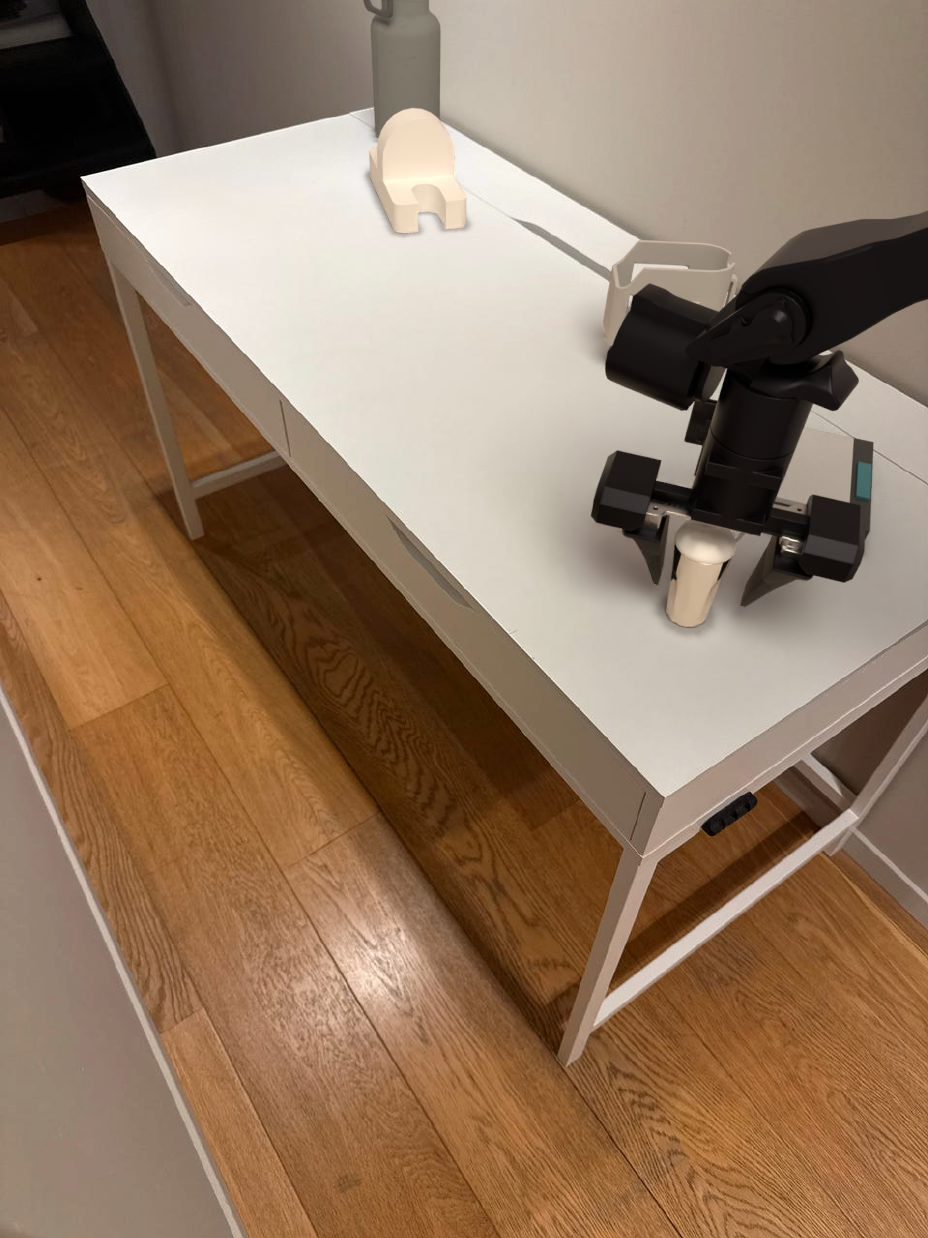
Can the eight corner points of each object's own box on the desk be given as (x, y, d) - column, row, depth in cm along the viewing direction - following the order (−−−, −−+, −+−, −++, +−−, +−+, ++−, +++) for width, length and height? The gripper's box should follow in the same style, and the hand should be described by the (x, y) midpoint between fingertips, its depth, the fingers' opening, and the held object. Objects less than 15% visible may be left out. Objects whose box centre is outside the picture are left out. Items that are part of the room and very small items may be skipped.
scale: (864, 461, 86) (876, 436, 84) (859, 550, 78) (872, 525, 75) (760, 438, 88) (769, 413, 85) (745, 523, 79) (754, 498, 77)
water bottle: (398, 153, 129) (392, -87, 108) (360, 131, 134) (347, -103, 113) (452, 137, 134) (457, -97, 112) (413, 116, 138) (411, -112, 117)
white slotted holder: (435, 168, 126) (435, 85, 118) (467, 227, 115) (470, 138, 107) (368, 174, 124) (364, 89, 116) (395, 233, 113) (392, 144, 105)
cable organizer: (598, 343, 98) (615, 237, 89) (709, 349, 98) (738, 243, 89) (601, 378, 94) (620, 271, 84) (719, 384, 94) (750, 277, 84)
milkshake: (728, 634, 71) (759, 543, 63) (661, 633, 71) (684, 542, 63) (719, 592, 74) (747, 501, 66) (654, 592, 74) (675, 500, 66)
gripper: (901, 394, 62) (825, 552, 74) (638, 341, 65) (606, 500, 77) (900, 494, 55) (816, 651, 67) (605, 428, 58) (576, 589, 70)
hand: (699, 591), depth 70 cm, fingers open, 6 cm apart
